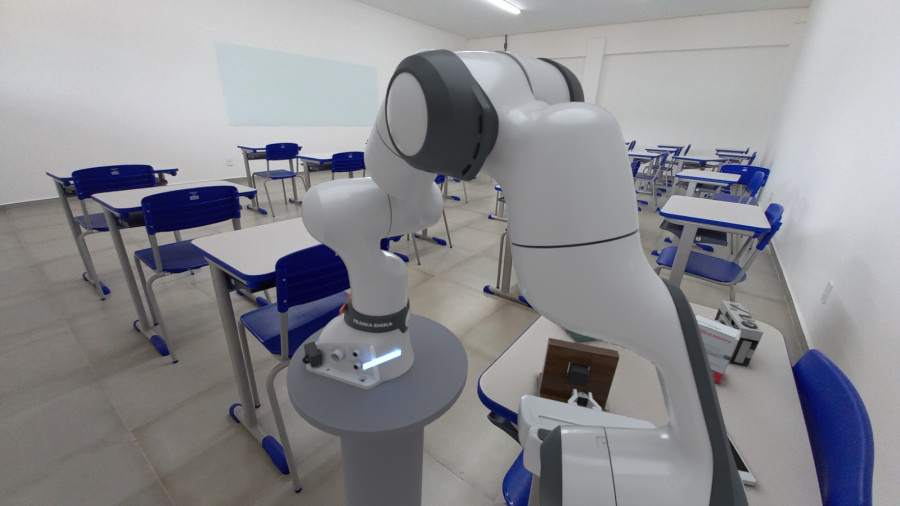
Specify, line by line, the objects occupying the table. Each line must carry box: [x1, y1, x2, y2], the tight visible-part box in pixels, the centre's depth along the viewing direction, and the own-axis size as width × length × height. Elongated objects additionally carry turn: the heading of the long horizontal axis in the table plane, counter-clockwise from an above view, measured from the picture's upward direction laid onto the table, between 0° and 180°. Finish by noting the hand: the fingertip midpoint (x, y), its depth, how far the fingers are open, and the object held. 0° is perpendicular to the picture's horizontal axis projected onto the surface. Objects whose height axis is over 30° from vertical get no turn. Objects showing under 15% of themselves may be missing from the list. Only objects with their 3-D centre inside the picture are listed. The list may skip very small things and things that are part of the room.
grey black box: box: [711, 299, 765, 367], centre depth 87 cm, size 14×8×10 cm, turn 160°
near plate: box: [537, 337, 620, 412], centre depth 67 cm, size 8×12×13 cm, turn 76°
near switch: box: [568, 363, 589, 387], centre depth 64 cm, size 3×3×3 cm
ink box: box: [694, 314, 741, 385], centre depth 77 cm, size 9×5×12 cm, turn 46°
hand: (581, 393), depth 59 cm, fingers closed
